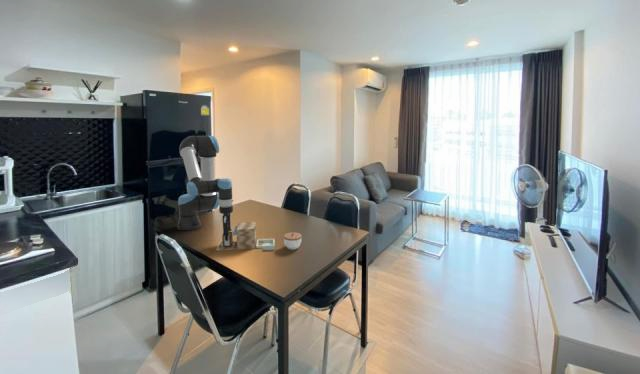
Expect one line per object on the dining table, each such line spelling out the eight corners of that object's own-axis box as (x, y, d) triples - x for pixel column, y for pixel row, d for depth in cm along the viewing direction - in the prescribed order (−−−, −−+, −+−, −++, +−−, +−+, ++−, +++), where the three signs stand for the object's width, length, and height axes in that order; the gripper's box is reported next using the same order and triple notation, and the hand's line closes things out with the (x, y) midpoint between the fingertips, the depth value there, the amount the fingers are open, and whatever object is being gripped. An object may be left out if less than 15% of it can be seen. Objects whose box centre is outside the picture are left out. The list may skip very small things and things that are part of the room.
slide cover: (232, 235, 172) (232, 231, 172) (234, 229, 182) (234, 226, 181) (250, 234, 174) (250, 231, 173) (251, 228, 183) (251, 225, 183)
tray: (256, 250, 175) (256, 246, 175) (257, 243, 186) (257, 239, 185) (274, 249, 177) (274, 245, 177) (274, 242, 187) (274, 238, 187)
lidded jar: (291, 242, 188) (291, 228, 186) (305, 246, 182) (305, 232, 180) (279, 248, 179) (279, 233, 177) (293, 252, 173) (293, 237, 171)
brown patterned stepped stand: (215, 252, 172) (214, 230, 169) (219, 244, 183) (218, 223, 181) (255, 250, 175) (254, 228, 172) (256, 242, 187) (255, 222, 184)
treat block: (222, 246, 175) (222, 235, 174) (224, 243, 180) (223, 232, 179) (231, 246, 176) (231, 234, 175) (232, 242, 181) (232, 231, 180)
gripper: (230, 210, 165) (232, 249, 170) (234, 201, 182) (236, 237, 187) (216, 210, 164) (218, 250, 169) (221, 201, 181) (223, 237, 186)
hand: (227, 243), depth 178 cm, fingers closed on treat block, 5 cm apart
